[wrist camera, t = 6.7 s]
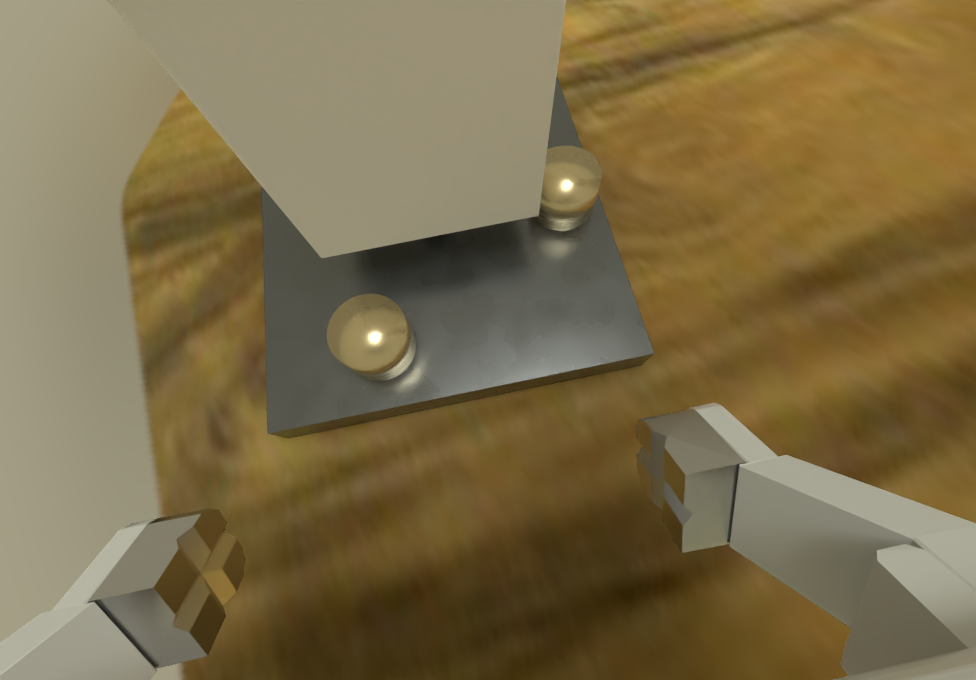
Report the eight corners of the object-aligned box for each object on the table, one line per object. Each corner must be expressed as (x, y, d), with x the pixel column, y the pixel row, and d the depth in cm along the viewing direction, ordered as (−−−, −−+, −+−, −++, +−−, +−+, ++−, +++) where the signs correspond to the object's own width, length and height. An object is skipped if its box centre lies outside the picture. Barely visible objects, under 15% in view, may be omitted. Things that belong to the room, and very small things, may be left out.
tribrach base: (277, 155, 28) (237, 97, 24) (553, 102, 29) (561, 37, 25) (288, 438, 22) (237, 426, 18) (641, 364, 22) (672, 336, 18)
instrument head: (325, 200, 24) (-307, -785, 5) (521, 162, 24) (574, -896, 6) (334, 294, 22) (-603, -724, 3) (546, 251, 22) (753, -896, 4)
